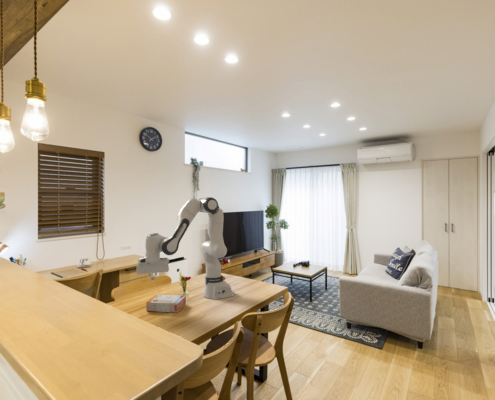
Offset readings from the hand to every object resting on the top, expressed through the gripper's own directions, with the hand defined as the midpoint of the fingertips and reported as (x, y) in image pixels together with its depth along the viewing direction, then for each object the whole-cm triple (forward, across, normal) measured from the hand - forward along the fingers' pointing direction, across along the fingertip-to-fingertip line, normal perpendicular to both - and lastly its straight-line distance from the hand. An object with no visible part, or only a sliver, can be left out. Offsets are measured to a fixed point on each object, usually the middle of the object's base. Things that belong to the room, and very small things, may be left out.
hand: (152, 279), depth 183 cm
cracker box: (+14, +1, +1) cm, 15 cm away
